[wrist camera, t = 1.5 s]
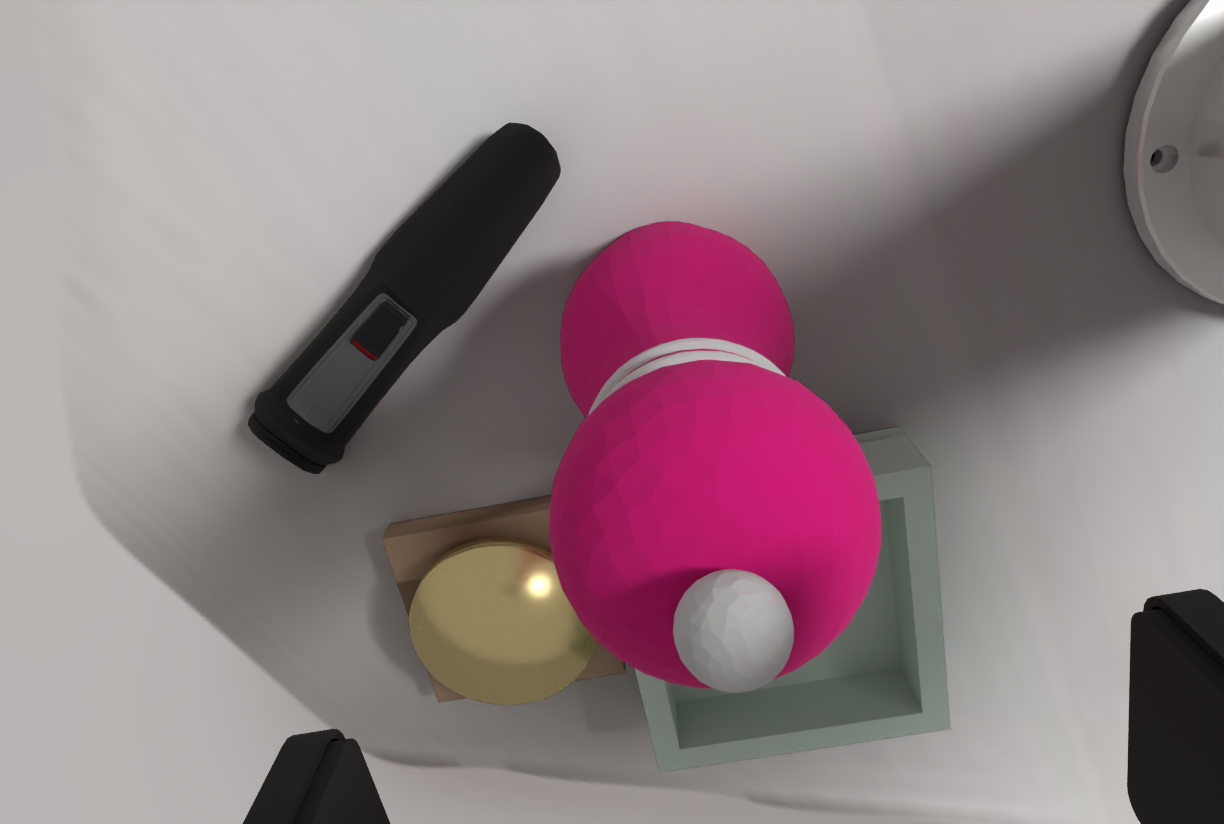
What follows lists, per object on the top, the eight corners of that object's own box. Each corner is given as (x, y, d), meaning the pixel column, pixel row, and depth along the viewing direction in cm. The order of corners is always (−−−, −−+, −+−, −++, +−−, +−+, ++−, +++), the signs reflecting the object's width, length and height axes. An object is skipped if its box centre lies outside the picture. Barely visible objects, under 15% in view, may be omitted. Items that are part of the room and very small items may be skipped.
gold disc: (576, 509, 32) (573, 533, 31) (613, 660, 35) (613, 689, 33) (397, 541, 33) (384, 566, 31) (446, 687, 35) (438, 717, 34)
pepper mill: (548, 375, 31) (437, 807, 13) (595, 182, 29) (544, 364, 10) (734, 422, 32) (889, 899, 13) (796, 236, 29) (1101, 503, 11)
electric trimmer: (593, 172, 29) (591, 181, 26) (329, 471, 33) (300, 508, 30) (510, 93, 28) (498, 93, 25) (249, 410, 32) (212, 442, 29)
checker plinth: (584, 488, 33) (583, 503, 32) (624, 654, 36) (625, 672, 35) (390, 524, 34) (381, 539, 32) (444, 683, 36) (438, 702, 35)
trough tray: (899, 426, 32) (930, 466, 29) (920, 670, 36) (950, 729, 33) (602, 480, 33) (600, 523, 29) (656, 711, 37) (659, 772, 34)
